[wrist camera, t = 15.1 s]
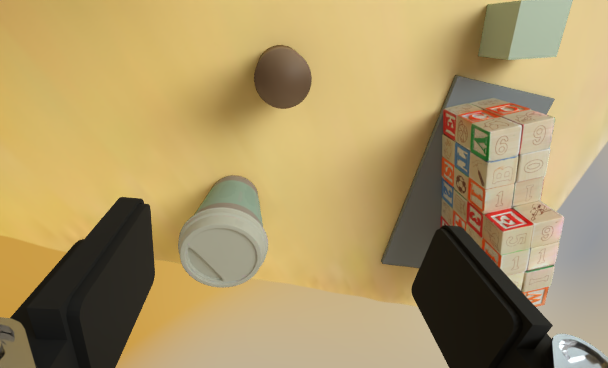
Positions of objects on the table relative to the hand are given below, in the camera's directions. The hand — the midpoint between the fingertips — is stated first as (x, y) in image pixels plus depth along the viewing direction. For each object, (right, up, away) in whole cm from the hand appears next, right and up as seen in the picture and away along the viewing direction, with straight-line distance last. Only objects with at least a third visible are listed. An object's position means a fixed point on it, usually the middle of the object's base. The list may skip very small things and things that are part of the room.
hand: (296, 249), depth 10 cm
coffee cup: (-9, +1, +30) cm, 31 cm away
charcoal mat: (+21, +2, +32) cm, 38 cm away
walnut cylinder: (-2, +14, +23) cm, 27 cm away
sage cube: (+22, +19, +24) cm, 37 cm away
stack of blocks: (+21, +3, +31) cm, 38 cm away
